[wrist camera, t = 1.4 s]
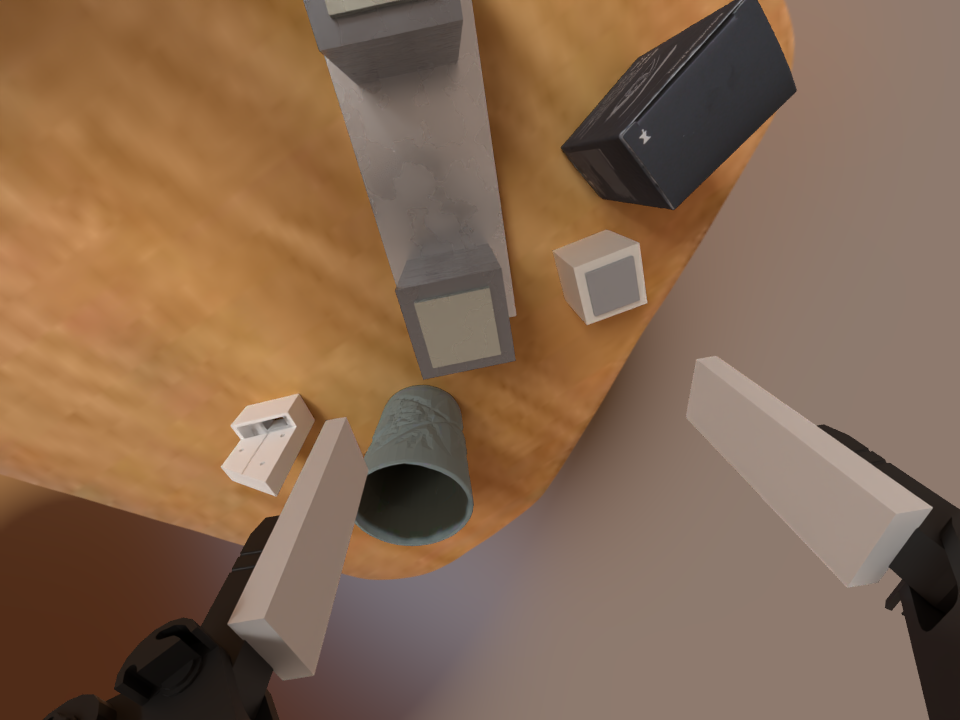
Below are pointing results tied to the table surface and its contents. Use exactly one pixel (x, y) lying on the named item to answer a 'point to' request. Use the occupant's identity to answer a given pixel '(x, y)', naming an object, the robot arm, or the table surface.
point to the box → (683, 109)
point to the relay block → (601, 275)
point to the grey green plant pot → (417, 470)
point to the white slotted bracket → (268, 442)
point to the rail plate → (426, 169)
